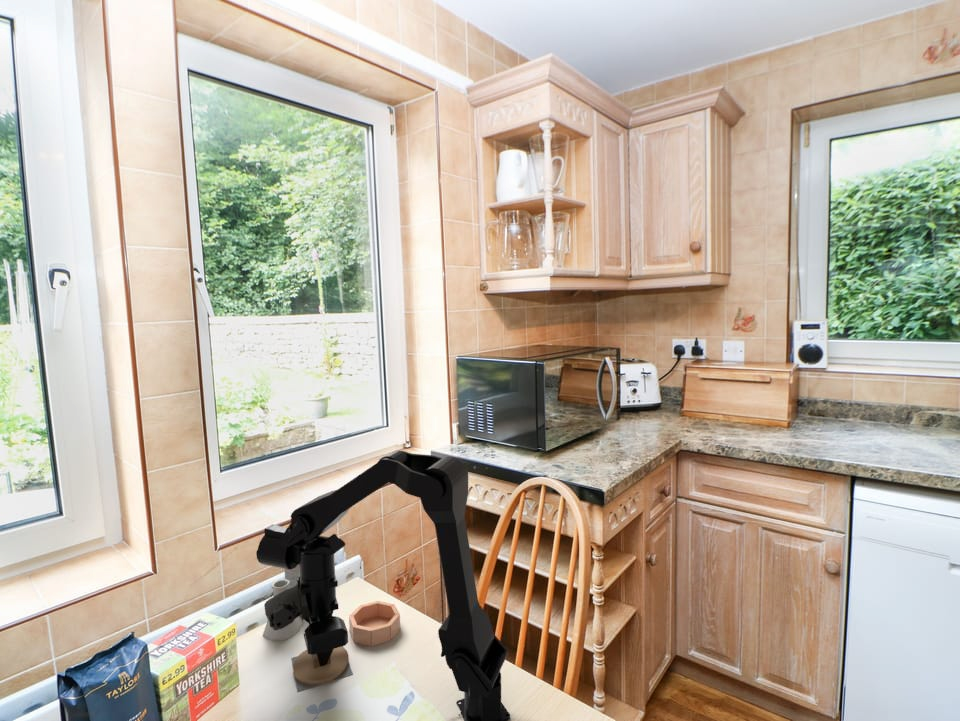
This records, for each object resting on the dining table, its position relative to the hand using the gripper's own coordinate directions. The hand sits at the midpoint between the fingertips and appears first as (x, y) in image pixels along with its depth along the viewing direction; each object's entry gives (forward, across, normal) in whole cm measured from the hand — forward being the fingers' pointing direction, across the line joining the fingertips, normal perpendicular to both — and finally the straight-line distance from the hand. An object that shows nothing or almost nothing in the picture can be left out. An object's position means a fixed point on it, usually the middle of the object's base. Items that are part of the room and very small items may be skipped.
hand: (321, 657), depth 91 cm
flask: (+2, -14, -5) cm, 15 cm away
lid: (+2, 0, 0) cm, 2 cm away
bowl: (+2, -6, +11) cm, 13 cm away
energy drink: (+2, -21, -1) cm, 21 cm away
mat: (+2, 0, 0) cm, 2 cm away
